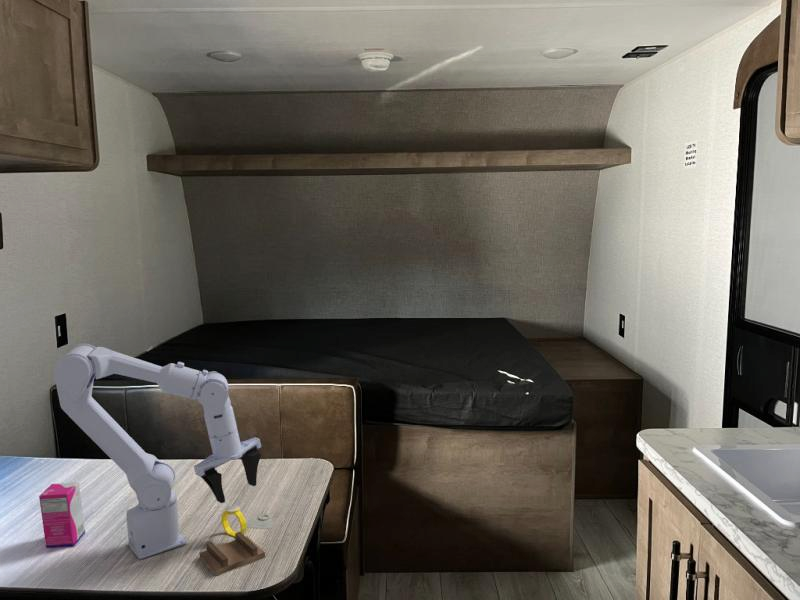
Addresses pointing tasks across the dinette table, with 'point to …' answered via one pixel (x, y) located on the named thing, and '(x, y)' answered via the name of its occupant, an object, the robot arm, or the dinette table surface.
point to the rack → (231, 554)
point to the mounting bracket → (260, 522)
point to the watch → (239, 515)
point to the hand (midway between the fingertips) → (237, 492)
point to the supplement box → (62, 514)
